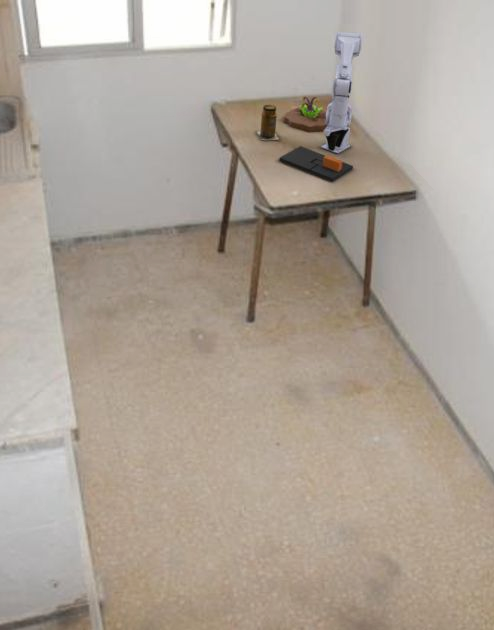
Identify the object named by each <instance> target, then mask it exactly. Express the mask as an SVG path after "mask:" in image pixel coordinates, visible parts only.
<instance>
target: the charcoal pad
mask: <svg viewBox="0 0 494 630" xmlns="http://www.w3.org/2000/svg"><path fill="white" fill-rule="evenodd" d="M312 163H313V164H316V165H317V166H316V167H314V168H313V169H311V170H310V173H309V174H311V175H314V176H316V177H318V178H322V179H323V180H326V181H328V182H331V183H333V182H335V181H336V180H338V179H340V178H341V177H343V176H345V175H346V174H347V173H350V171H353V168H354V165H352V164H349V163H346V162H344V161H343V160H341V159H338V158H336V157H333V156H330V155H325V157H324V158H323V162H321V161H319V160H315V161H314V162H312Z"/></svg>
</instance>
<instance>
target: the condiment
mask: <svg viewBox="0 0 494 630" xmlns="http://www.w3.org/2000/svg"><path fill="white" fill-rule="evenodd" d="M277 116H278V115H277V106H276V105H274V104H265V105H263V107H262V113H261V119H260V120H261V121H260V130H259V131H258V130H257V131H256V133H257V135H258V136H259V138H260V140H261V141H277V140H280V138H279V137H278V135H277V133H276V129H277V118H278V117H277Z"/></svg>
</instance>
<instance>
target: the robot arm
mask: <svg viewBox="0 0 494 630" xmlns="http://www.w3.org/2000/svg"><path fill="white" fill-rule="evenodd" d="M363 39H364V35H363V33H356V32H345V31H339V30H338V31H337V32H336V33H335V39H334V54H335V55H336V56H339V62H340V63H339V64H337V66H336V70H335V71H336V72H335V78H334V80H333V84H332V90H331V92H332V93H331V94H332V98H331V102H330V103H328V105H327V107H326V108H327V109H326V112H327V113H326V120H325V124H326V125H328V126H327V128H326V129H324V130H323V135H324V136H325V137H326V139H325V140H326V141H325V144H323V145H321V147H320V148H321V149H324V150H326V151H329V152H331V153H335V154H339V153H342V152H343V151H345V150H347V149H348V148H350V147H351V145H350V144H349V142H350V135H351V128H350V127H351V122H352V117H353V116H352V115H353V108H352V106H351V104H350V96H351V95H352V89H353V71H354V67H353V65H352V62H353V60H354V58H356V57H358V56H360V54H361V51H362V45H363ZM328 120H329V121H328Z"/></svg>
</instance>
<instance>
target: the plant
mask: <svg viewBox="0 0 494 630" xmlns="http://www.w3.org/2000/svg"><path fill="white" fill-rule="evenodd" d="M301 100H302V101H307V102H304V103H302V104H299V105H298V107H295V108H292V109H290V110H289V111H286V113H285V114H284V118H283V123H284V124H285V123H286V124H288V125H289V126H290V127H292V128H295V129H298V130H302V131H305V132H309V133H310V132H320V131H324V129H326V128H327V126H328V125H326V124H325V120H326V113H327V111H324V110H323V107H317V105H316V104H314V101H315V102H316V103H318V102H319V101H320V100H319V98H318V97H317V96H313V97H312V98H311V99H309V98H308V97H307V96H303V97H302V98H301ZM328 121H329V120H328Z"/></svg>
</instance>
